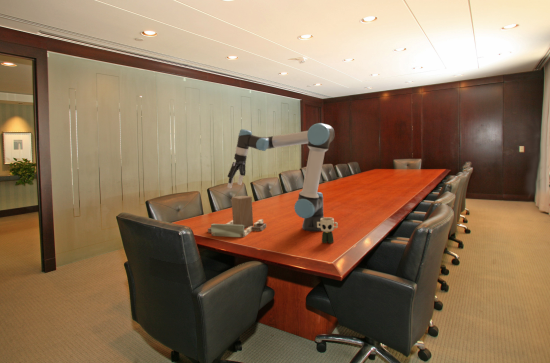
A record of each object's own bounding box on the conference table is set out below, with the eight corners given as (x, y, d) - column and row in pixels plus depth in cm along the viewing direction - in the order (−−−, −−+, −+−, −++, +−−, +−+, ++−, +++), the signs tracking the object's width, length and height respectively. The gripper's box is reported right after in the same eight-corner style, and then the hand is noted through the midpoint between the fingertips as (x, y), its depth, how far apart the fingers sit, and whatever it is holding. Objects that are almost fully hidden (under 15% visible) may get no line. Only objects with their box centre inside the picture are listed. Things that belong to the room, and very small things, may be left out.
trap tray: (228, 221, 222) (227, 211, 221) (271, 222, 212) (271, 212, 211) (202, 235, 189) (201, 224, 188) (253, 237, 178) (252, 226, 178)
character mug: (316, 244, 161) (316, 220, 160) (318, 240, 168) (317, 217, 167) (337, 244, 159) (337, 220, 157) (338, 240, 166) (337, 217, 164)
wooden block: (245, 223, 213) (243, 195, 211) (253, 226, 205) (251, 196, 203) (232, 226, 207) (231, 197, 205) (240, 229, 199) (239, 198, 197)
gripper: (244, 151, 205) (238, 181, 209) (226, 153, 181) (219, 187, 186) (254, 154, 202) (248, 184, 207) (237, 157, 179) (230, 191, 184)
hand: (234, 186), depth 197 cm, fingers open, 13 cm apart
